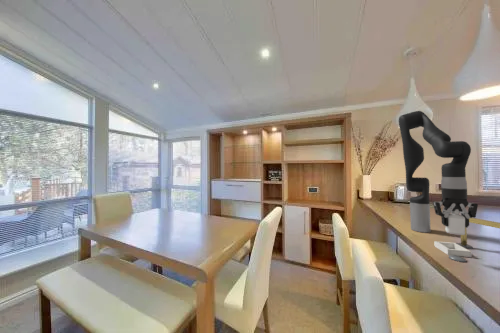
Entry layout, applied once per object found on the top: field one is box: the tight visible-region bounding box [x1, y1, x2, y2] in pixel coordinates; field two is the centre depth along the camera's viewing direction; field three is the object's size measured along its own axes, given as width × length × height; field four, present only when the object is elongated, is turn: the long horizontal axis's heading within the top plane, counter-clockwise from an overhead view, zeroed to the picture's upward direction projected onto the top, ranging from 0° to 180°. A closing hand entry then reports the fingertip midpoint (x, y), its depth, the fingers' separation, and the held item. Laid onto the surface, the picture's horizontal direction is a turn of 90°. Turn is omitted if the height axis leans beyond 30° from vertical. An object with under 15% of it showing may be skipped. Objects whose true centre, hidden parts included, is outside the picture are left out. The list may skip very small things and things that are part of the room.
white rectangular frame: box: [433, 240, 472, 258], centre depth 87 cm, size 10×8×2 cm
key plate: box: [455, 242, 474, 250], centre depth 92 cm, size 4×4×1 cm
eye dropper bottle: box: [445, 209, 465, 236], centre depth 80 cm, size 4×6×12 cm
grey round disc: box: [448, 255, 467, 263], centre depth 80 cm, size 5×5×1 cm
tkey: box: [460, 217, 500, 245], centre depth 86 cm, size 18×2×14 cm, turn 11°
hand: (455, 226), depth 80 cm, fingers closed on eye dropper bottle, 5 cm apart
